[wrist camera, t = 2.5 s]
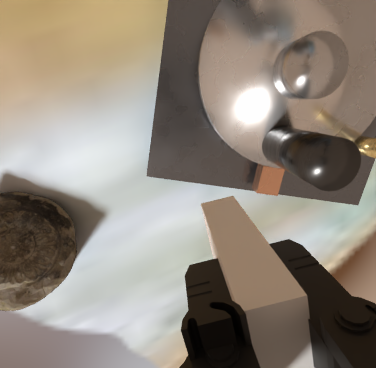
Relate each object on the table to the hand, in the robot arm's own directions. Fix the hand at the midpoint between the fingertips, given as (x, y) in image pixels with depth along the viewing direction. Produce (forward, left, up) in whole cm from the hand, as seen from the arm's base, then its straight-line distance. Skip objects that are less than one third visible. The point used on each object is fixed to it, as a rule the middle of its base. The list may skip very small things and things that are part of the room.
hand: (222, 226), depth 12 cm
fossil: (+10, -15, -16) cm, 24 cm away
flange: (-8, +7, -13) cm, 16 cm away
